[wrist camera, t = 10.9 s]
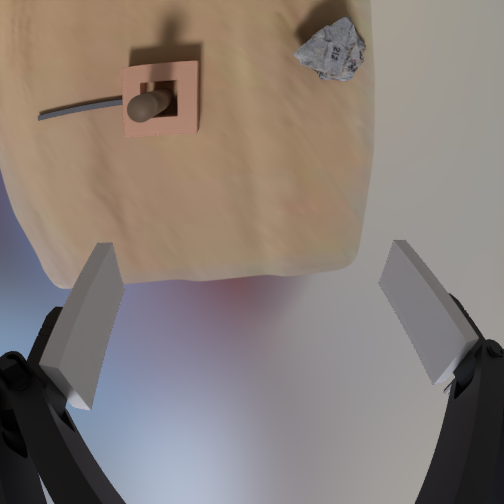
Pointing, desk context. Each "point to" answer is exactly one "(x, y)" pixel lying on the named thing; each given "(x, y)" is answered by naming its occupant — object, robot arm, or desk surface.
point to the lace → (80, 109)
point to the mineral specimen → (333, 51)
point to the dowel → (149, 104)
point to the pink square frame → (187, 98)
